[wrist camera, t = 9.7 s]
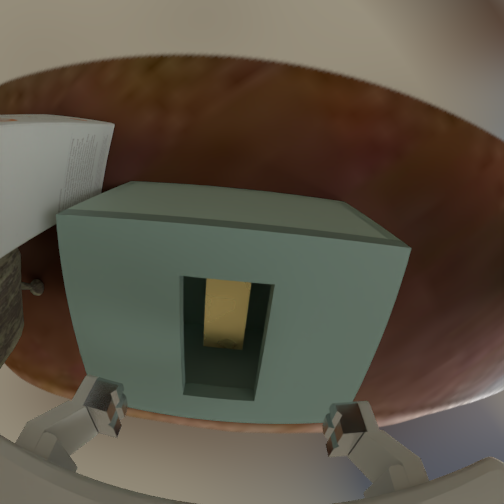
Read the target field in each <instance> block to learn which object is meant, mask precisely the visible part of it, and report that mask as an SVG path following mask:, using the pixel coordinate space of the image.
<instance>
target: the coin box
mask: <svg viewBox="0 0 504 504" xmlns="http://www.w3.org/2000/svg"><path fill="white" fill-rule="evenodd" d="M56 223H57V234H58V244H59V252H60V260H61V266H62V273H63V279H64V285H65V290H66V296H67V301H68V305H69V310H70V315H71V319H72V323H73V327H74V331H75V335H76V339H77V343H78V346H79V350H80V353H81V357H82V360H83V363H84V367H85V370H86V373H87V375H88V374H90V375H93V376H97V377H100V378H104V379H107V380H111V381H115V382H118V383H122V384H123V386H124V391H123V394H124V395H125V396H126V397H127V404H128V406H127V407H130V408H135V409H139V410H144V411H150V412H155V413H161V414H167V415H173V416H180V417H187V418H195V419H204V420H214V421H226V422H240V423H265V424H298V423H323V421H324V418H325V416H326V415H327V414H328V413H330V411H329V407H330V405H331V404H332V403H342V402H352V401H353V399H354V398H355V396H356V394H357V391H358V389H359V387H360V385H361V383H362V381H363V379H364V377H365V375H366V373H367V370H368V368H369V366H370V364H371V361H372V359H373V357H374V354H375V352H376V350H377V347H378V345H379V343H380V340H381V338H382V335H383V333H384V330H385V327H386V325H387V322H388V320H389V317H390V314H391V311H392V309H393V306H394V303H395V300H396V297H397V294H398V291H399V288H400V285H401V282H402V279H403V276H404V272H405V269H406V266H407V262H408V259H409V255H410V252H411V247H409V246H408V245H406V244H405V243H404V242H402V241H401V240H400V239H398V238H397V237H395V236H394V235H393V234H391V233H390V232H388V231H387V230H386V229H384V228H383V227H381V226H380V225H378V224H377V223H376V222H374V221H373V220H371V219H370V218H368V217H367V216H365V215H364V214H362V213H361V212H359V211H358V210H356V209H355V208H353V207H352V206H350V205H349V204H347V203H346V202H343V201H336V200H330V199H323V198H316V197H308V196H301V195H293V194H285V193H276V192H268V191H259V190H249V189H239V188H229V187H217V186H205V185H192V184H177V183H161V182H140V181H130V182H128V183H125V184H123V185H120V186H118V187H116V188H113V189H111V190H108V191H106V192H104V193H101V194H99V195H97V196H94V197H92V198H90V199H88V200H85V201H83V202H81V203H79V204H77V205H74V206H72V207H70V208H68V209H66V210H64V211H62V212H60V213H58V214H56ZM207 278H208V279H219V280H229V281H240V282H251V289H250V296H249V304H248V311H247V319H246V326H245V333H244V341H243V348H242V350H237V349H226V348H216V347H207V346H203V341H204V318H205V298H206V280H207Z"/></svg>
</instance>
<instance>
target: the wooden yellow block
mask: <svg viewBox="0 0 504 504" xmlns="http://www.w3.org/2000/svg"><path fill="white" fill-rule="evenodd" d="M250 289H251V282H240V281H229V280H219V279H208V278H207V280H206V298H205V318H204V341H203V346H207V347H216V348H226V349H237V350H242V348H243V341H244V333H245V326H246V319H247V311H248V304H249V296H250Z"/></svg>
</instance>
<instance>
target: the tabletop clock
mask: <svg viewBox="0 0 504 504" xmlns="http://www.w3.org/2000/svg"><path fill="white" fill-rule="evenodd" d="M29 289H30V291H31V293H32V294H33V295H37V296H39V295H41V294H42V293H43V291H44V284H43V283H42V282H41V280H38V279H34V280H33V281H32V282H31V283H30V284H29V283H25V282H21V253H20V251H19V250H18V248H16V249H14V250H12V251H11V252H9V253H8V254H6V255H5V256H3V257H2V258H0V368H1V366H2V365H3V364H4V362H5V361H6V359H7V358H8V356H9V355H10V353H11V352H12V351H13V349H14V348H15V346H16V344H17V342H18V340H19V338H20V336H21V334H22V330H23V327H24V318H23V306H22V290H29Z"/></svg>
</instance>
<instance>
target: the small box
mask: <svg viewBox="0 0 504 504" xmlns="http://www.w3.org/2000/svg"><path fill="white" fill-rule="evenodd" d="M114 127H115V124H113V123H109V122H103V121H97V120H90V119H83V118H75V117H67V116H58V115H46V114H20V115H0V258H2V257H3V256H5V255H6V254H8V253H9V252H11V251H12V250H14V249H16V248H17V247H19V246H20V245H22V244H24V243H25V242H27V241H28V240H30V239H32V238H33V237H35V236H37V235H38V234H40V233H42V232H43V231H45V230H47V229H48V228H50V227H52V226H54V225H55V224H57V223H56V214H58V213H60V212H62V211H64V210H66V209H68V208H70V207H72V206H74V205H77V204H79V203H81V202H83V201H85V200H88V199H90V198H92V197H94V196H97V195H99V194H101V192H102V185H103V179H104V174H105V168H106V163H107V158H108V153H109V149H110V144H111V139H112V135H113V131H114Z"/></svg>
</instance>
